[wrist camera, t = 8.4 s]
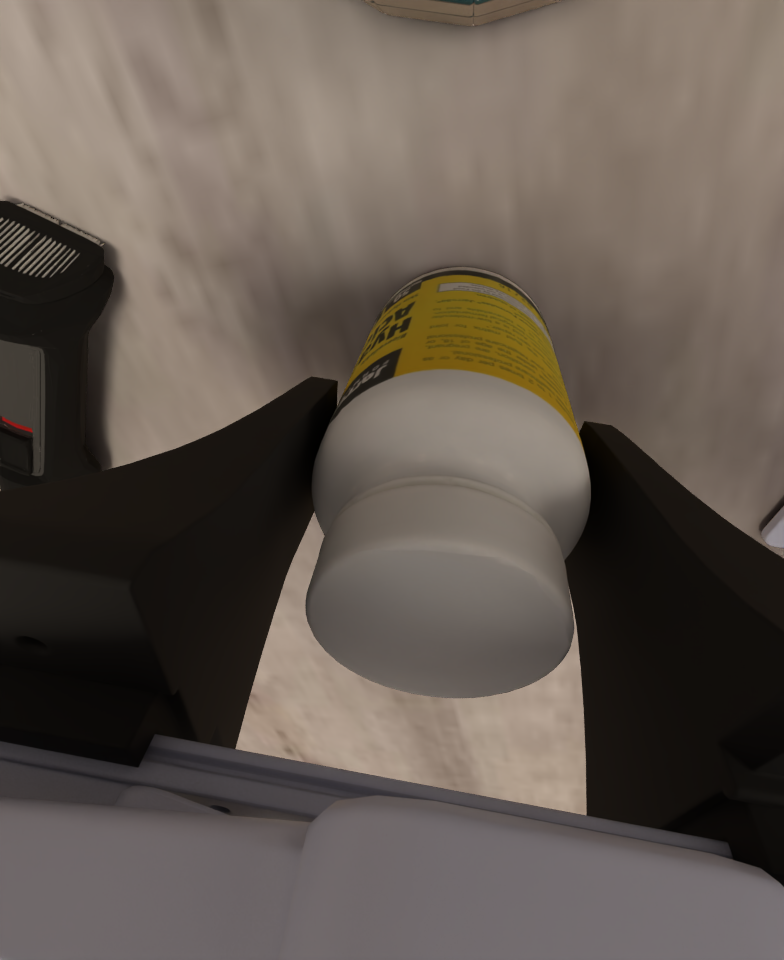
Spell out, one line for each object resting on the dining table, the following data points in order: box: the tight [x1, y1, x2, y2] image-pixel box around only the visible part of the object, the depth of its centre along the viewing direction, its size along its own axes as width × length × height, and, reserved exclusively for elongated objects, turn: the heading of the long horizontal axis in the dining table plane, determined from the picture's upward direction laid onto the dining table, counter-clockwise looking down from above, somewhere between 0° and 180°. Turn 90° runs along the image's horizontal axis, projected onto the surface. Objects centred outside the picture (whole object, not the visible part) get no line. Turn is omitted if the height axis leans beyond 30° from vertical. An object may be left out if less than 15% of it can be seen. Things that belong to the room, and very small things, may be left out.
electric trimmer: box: [0, 201, 114, 491], centre depth 17 cm, size 4×16×3 cm, turn 155°
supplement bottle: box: [306, 267, 591, 698], centre depth 11 cm, size 5×5×10 cm
